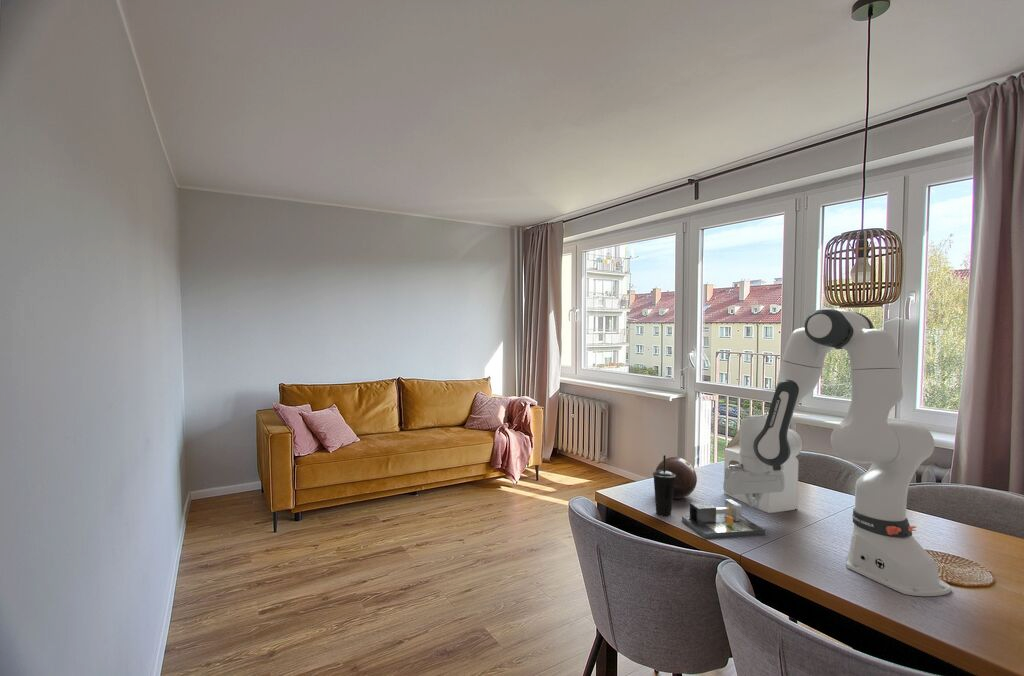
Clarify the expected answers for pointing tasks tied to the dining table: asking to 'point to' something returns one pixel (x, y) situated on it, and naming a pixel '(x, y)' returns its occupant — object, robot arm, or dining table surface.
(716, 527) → the gauge frame
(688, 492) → the wooden sphere
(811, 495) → the dining table surface
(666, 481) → the drinking cup
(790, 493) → the gable box
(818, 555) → the dining table surface
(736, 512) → the white block
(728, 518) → the peak needle
